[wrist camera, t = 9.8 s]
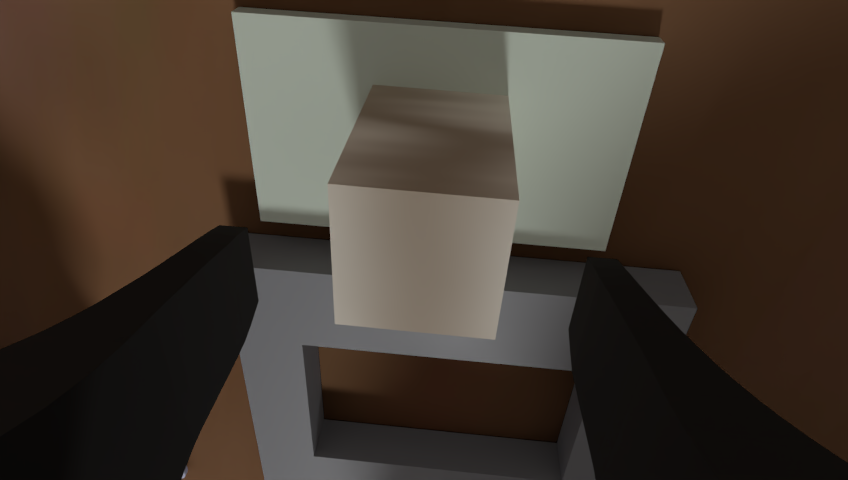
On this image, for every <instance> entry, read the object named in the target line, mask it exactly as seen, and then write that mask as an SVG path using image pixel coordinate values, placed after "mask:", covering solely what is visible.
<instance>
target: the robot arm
mask: <svg viewBox="0 0 848 480" xmlns="http://www.w3.org/2000/svg"><path fill="white" fill-rule="evenodd" d="M258 302H259V299H258V293H257V286H256V280H255V273H254V267H253V261H252V254H251V248H250V241H249V235H248V228H245V227H234V226H222V225H219V226H217V227H216V228H214V229H212V230H211V231H209V232H208V233H206V234H204V235H203V236H201V237H200V238H198V239H197V240H195V241H194V242H192V243H191V244H189V245H188V246H187V247H185V248H184V249H182V250H181V251H179V252H178V253H176V254H175V255H173V256H172V257H170V258H169V259H167V260H166V261H164V262H163V263H161V264H160V265H158V266H157V267H155V268H154V269H152V270H150V271H149V272H147V273H146V274H144V275H143V276H141V277H140V278H138V279H136V280H135V281H133V282H131V283H130V284H128V285H126V286H125V287H123V288H121V289H120V290H118V291H116V292H115V293H113V294H111V295H110V296H108V297H106V298H105V299H103V300H101V301H100V302H98V303H96V304H94V305H93V306H91V307H89V308H87V309H85V310H83V311H82V312H80V313H78V314H76V315H74V316H72V317H70V318H68V319H66V320H64V321H62V322H60V323H58V324H56V325H54V326H52V327H50V328H48V329H46V330H44V331H42V332H40V333H37V334H35V335H33V336H31V337H28V338H26V339H24V340H21V341H19V342H17V343H14V344H12V345H10V346H7V347H5V348H3V349H0V480H181V479H182V478H184V477H185V476H186V474H187V472H188V468H187V463H188V460H189V457H190V455H191V452H192V449H193V447H194V445H195V442H196V440H197V438H198V436H199V434H200V431H201V429H202V427H203V425H204V423H205V421H206V419H207V417H208V415H209V413H210V411H211V409H212V407H213V405H214V403H215V401H216V399H217V397H218V395H219V393H220V391H221V389H222V387H223V385H224V383H225V381H226V379H227V377H228V375H229V373H230V371H231V369H232V367H233V365H234V363H235V361H236V359H237V357H238V355H239V353H240V351H241V349H242V347H243V345H244V343H245V341H246V338H247V335H248V332H249V329H250V327H251V324H252V321H253V317H254V314H255V311H256V308H257V305H258ZM568 331H569V344H570V356H571V366H572V374H573V379H574V383H575V388H576V392H577V397H578V402H579V406H580V410H581V415H582V419H583V424H584V428H585V433H586V437H587V441H588V446H589V450H590V455H591V459H592V463H593V468H594V474H595V479H596V480H848V463H847V462H846V461H844V460H842V459H841V458H839V457H838V456H836V455H835V454H833V453H832V452H830V451H829V450H827V449H826V448H824V447H823V446H821V445H820V444H818V443H817V442H815V441H814V440H812V439H811V438H809V437H808V436H807V435H805V434H804V433H802V432H801V431H800V430H798V429H797V428H795V427H794V426H793V425H791V424H790V423H788V422H787V421H786V420H784V419H783V418H781V417H780V416H779V415H777V414H776V413H775V412H773V411H772V410H771V409H769V408H768V407H767V406H766V405H764V404H763V403H762V402H760V401H759V400H758V399H757V398H755V397H754V396H753V395H752V394H751V393H749V392H748V391H747V390H746V389H744V388H743V387H742V386H741V385H740V384H738V383H737V382H736V381H735V380H734V379H732V378H731V377H730V376H729V375H728V374H727V373H725V372H724V371H723V370H722V369H721V368H720V367H719V366H718V365H716V364H715V363H714V362H713V361H712V360H711V359H710V358H709V357H708V356H707V355H706V354H705V353H704V352H703V351H702V350H701V349H700V348H699V347H697V346H696V345H695V344H694V343H693V342H692V341H691V340H690V339H689V338H688V337H687V336H686V335H685V334H684V333H683V332H682V331H681V330H680V329H679V328H678V326H677V325H676V324H675V323H674V322H673V321H672V320H671V319H670V318H669V317H668V316H667V315H666V314H665V313H664V312H663V311H662V309H661V308H660V307H659V306H658V305H657V304H656V303H655V302H654V301H653V299H652V298H651V297H650V296H649V295H648V294H647V293H646V291H645V290H644V289H643V288H642V287H641V286H640V285H639V283H638V282H637V281H636V280H635V279H634V278H633V277H632V275H631V274H630V273H629V272H628V271H627V270H626V269H625V267H624V266H623V265H622V264H621V263H620V262H619V261H618V260H617V259H607V258H595V257H587V261H586V264H585V268H584V272H583V276H582V280H581V283H580V287H579V291H578V295H577V298H576V302H575V306H574V310H573V313H572V317H571V321H570V325H569V328H568Z"/></svg>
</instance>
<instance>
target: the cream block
mask: <svg viewBox="0 0 848 480" xmlns="http://www.w3.org/2000/svg"><path fill="white" fill-rule="evenodd" d="M328 204H329V223H330V242H331V261H332V281H333V300H334V319H335V324H339V325H349V326H360V327H370V328H380V329H390V330H400V331H411V332H421V333H431V334H441V335H451V336H462V337H472V338H482V339H492V340H495V338H496V333H497V327H498V321H499V315H500V310H501V304H502V298H503V292H504V287H505V281H506V275H507V269H508V264H509V258H510V252H511V246H512V241H513V235H514V229H515V223H516V218H517V212H518V206H519V192H518V182H517V173H516V163H515V153H514V144H513V134H512V125H511V115H510V106H509V96H507V95H495V94H482V93H470V92H458V91H445V90H433V89H421V88H408V87H396V86H384V85H372V88H371V90H370V92H369V94H368V96H367V99H366V101H365V103H364V105H363V107H362V109H361V112H360V114H359V116H358V118H357V120H356V123H355V125H354V127H353V129H352V131H351V134H350V136H349V138H348V140H347V142H346V144H345V147H344V149H343V151H342V153H341V155H340V158H339V160H338V162H337V164H336V166H335V168H334V171H333V173H332V175H331V177H330V179H329V182H328Z"/></svg>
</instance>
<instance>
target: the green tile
mask: <svg viewBox="0 0 848 480" xmlns="http://www.w3.org/2000/svg"><path fill="white" fill-rule="evenodd" d="M231 13H232V20H233V28H234V35H235V42H236V49H237V56H238V63H239V70H240V77H241V85H242V92H243V99H244V106H245V113H246V120H247V127H248V134H249V142H250V149H251V156H252V163H253V170H254V177H255V184H256V191H257V198H258V206H259V213H260V220H261V221H268V222H279V223H290V224H302V225H313V226H325V227H330V223H329V204H328V182H329V179H330V177H331V175H332V173H333V171H334V168H335V166H336V164H337V162H338V160H339V158H340V155H341V153H342V151H343V149H344V147H345V144H346V142H347V140H348V138H349V136H350V134H351V131H352V129H353V127H354V125H355V123H356V120H357V118H358V116H359V114H360V112H361V109H362V107H363V105H364V103H365V101H366V99H367V96H368V94H369V92H370V90H371V88H372V85H384V86H396V87H408V88H421V89H433V90H445V91H458V92H470V93H482V94H495V95H507V96H509V106H510V115H511V125H512V134H513V144H514V153H515V163H516V173H517V182H518V192H519V206H518V212H517V218H516V223H515V229H514V235H513V241H512V243H518V244H530V245H541V246H553V247H564V248H575V249H587V250H598V251H605V250H606V247H607V243H608V240H609V236H610V233H611V230H612V226H613V223H614V219H615V216H616V212H617V209H618V205H619V202H620V198H621V195H622V191H623V188H624V184H625V181H626V177H627V174H628V170H629V167H630V163H631V160H632V156H633V153H634V150H635V146H636V143H637V139H638V136H639V132H640V129H641V125H642V122H643V118H644V115H645V111H646V108H647V104H648V101H649V97H650V94H651V90H652V87H653V83H654V80H655V76H656V73H657V70H658V66H659V63H660V59H661V56H662V52H663V49H664V45H665V43H664V42H663V40H662V39H661V38H660V37H651V36H637V35H623V34H609V33H595V32H581V31H567V30H554V29H540V28H526V27H512V26H498V25H484V24H470V23H456V22H442V21H428V20H414V19H400V18H387V17H373V16H359V15H345V14H331V13H317V12H303V11H289V10H275V9H261V8H247V7H238V8H236V9H235V10H233V11H232V12H231Z"/></svg>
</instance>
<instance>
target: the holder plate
mask: <svg viewBox="0 0 848 480" xmlns="http://www.w3.org/2000/svg"><path fill="white" fill-rule="evenodd" d="M248 235H249V241H250V248H251V254H252V261H253V267H254V273H255V280H256V286H257V293H258V299H259V302H258V305H257V308H256V311H255V314H254V317H253V321H252V324H251V327H250V329H249V332H248V335H247V338H246V341H245V343H244V345H243V347H242V349H241V351H240V358H241V363H242V368H243V373H244V378H245V383H246V388H247V393H248V398H249V403H250V408H251V413H252V418H253V423H254V429H255V434H256V439H257V444H258V449H259V454H260V459H261V464H262V469H263V474H264V479H265V480H596V479H595V474H594V468H593V463H592V459H591V455H590V450H589V446H588V441H587V437H586V433H585V428H584V424H583V419H582V415H581V410H580V406H579V402H578V397H577V392H576V388H575V384H574V387H573V390H572V394H571V397H570V400H569V404H568V407H567V410H566V414H565V417H564V420H563V424H562V427H561V430H560V434H559V437H558V440H557V443H552V442H542V441H532V440H523V439H513V438H503V437H493V436H483V435H474V434H464V433H454V432H444V431H434V430H425V429H415V428H405V427H395V426H385V425H375V424H366V423H356V422H346V421H336V420H326V419H324V412H323V400H322V388H321V376H320V364H319V352H318V346H319V347H330V348H340V349H350V350H361V351H371V352H381V353H392V354H402V355H412V356H423V357H433V358H443V359H454V360H464V361H474V362H485V363H495V364H506V365H516V366H526V367H537V368H547V369H557V370H568V371H572V366H571V356H570V344H569V331H568V328H569V325H570V321H571V317H572V313H573V310H574V306H575V302H576V298H577V295H578V291H579V287H580V283H581V280H582V276H583V272H584V268H585V264H586V263H582V262H571V261H560V260H548V259H537V258H526V257H514V256H510V258H509V264H508V269H507V275H506V281H505V287H504V292H503V298H502V304H501V310H500V315H499V321H498V327H497V333H496V338H495V340H492V339H482V338H472V337H462V336H451V335H441V334H431V333H421V332H411V331H400V330H390V329H380V328H370V327H360V326H349V325H339V324H335V319H334V300H333V281H332V261H331V242H330V240H323V239H312V238H300V237H289V236H278V235H266V234H255V233H248ZM624 267H625V269H626V270H627V271H628V272H629V273H630V274H631V275H632V277H633V278H634V279H635V280H636V281H637V282H638V283H639V285H640V286H641V287H642V288H643V289H644V290H645V291H646V293H647V294H648V295H649V296H650V297H651V298H652V299H653V301H654V302H655V303H656V304H657V305H658V306H659V307H660V308H661V309H662V311H663V312H664V313H665V314H666V315H667V316H668V317H669V318H670V319H671V320H672V321H673V322H674V323H675V324H676V325H677V326H678V328H679V329H680V330H681V331H682V332H683V333H684V334H685V335H686V334H687V331H688V329H689V327H690V324H691V322H692V320H693V318H694V315H695V313H696V311H697V306H696V304H695V302H694V300H693V298H692V296H691V293H690V291H689V289H688V287H687V285H686V283H685V281H684V278H683V276H682V274H681V272H680V271H672V270H661V269H650V268H638V267H627V266H624Z"/></svg>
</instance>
